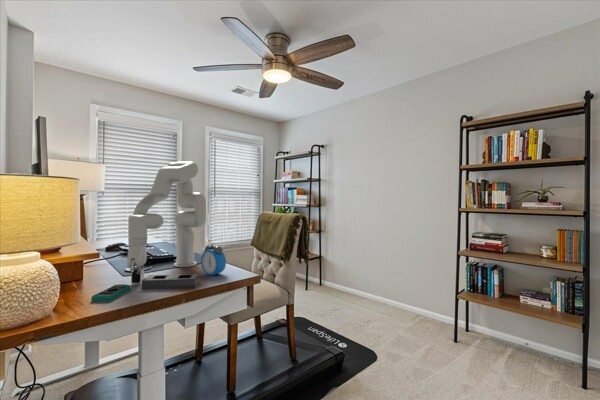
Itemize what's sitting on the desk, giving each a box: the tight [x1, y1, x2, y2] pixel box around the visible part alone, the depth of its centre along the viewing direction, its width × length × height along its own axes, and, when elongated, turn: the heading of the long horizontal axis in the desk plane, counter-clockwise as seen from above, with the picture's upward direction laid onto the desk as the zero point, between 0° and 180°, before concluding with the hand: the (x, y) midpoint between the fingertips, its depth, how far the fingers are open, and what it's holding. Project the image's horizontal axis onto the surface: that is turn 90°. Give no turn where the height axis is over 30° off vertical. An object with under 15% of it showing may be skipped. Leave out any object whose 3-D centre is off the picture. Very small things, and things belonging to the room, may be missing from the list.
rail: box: [141, 273, 199, 290], centre depth 130 cm, size 8×22×4 cm, turn 98°
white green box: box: [130, 266, 145, 286], centre depth 133 cm, size 4×4×7 cm
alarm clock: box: [200, 244, 227, 277], centre depth 149 cm, size 13×6×15 cm, turn 56°
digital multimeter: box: [90, 283, 132, 303], centre depth 117 cm, size 7×15×3 cm, turn 0°
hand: (137, 280), depth 133 cm, fingers closed on white green box, 4 cm apart
